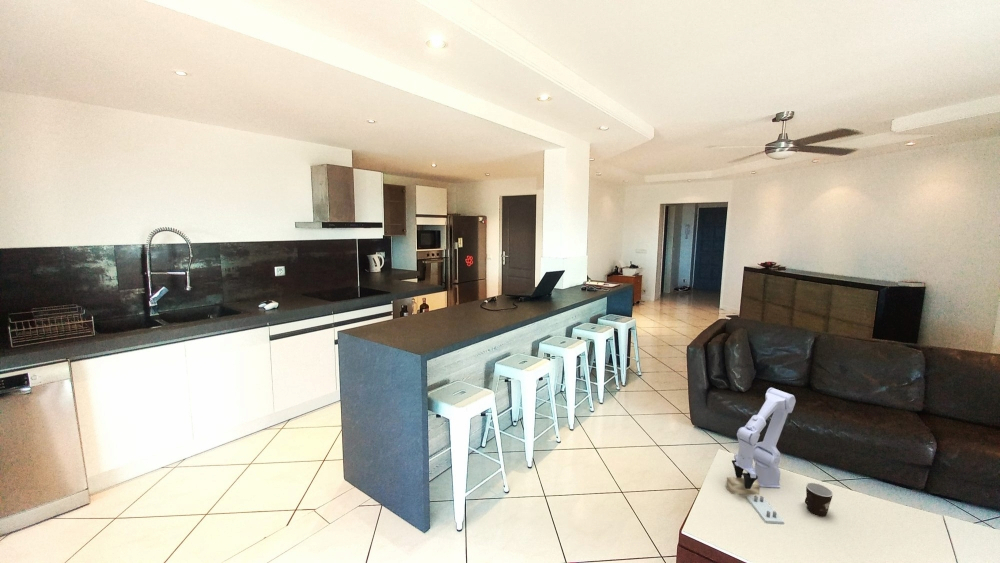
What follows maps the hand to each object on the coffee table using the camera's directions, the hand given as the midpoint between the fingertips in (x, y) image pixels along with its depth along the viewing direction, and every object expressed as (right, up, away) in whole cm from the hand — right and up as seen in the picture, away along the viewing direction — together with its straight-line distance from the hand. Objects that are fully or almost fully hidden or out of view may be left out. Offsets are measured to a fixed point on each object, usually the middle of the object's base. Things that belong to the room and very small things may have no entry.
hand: (743, 482), depth 175 cm
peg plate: (+2, -6, -12) cm, 13 cm away
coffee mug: (+22, -6, -12) cm, 25 cm away
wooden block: (0, -4, +1) cm, 4 cm away
